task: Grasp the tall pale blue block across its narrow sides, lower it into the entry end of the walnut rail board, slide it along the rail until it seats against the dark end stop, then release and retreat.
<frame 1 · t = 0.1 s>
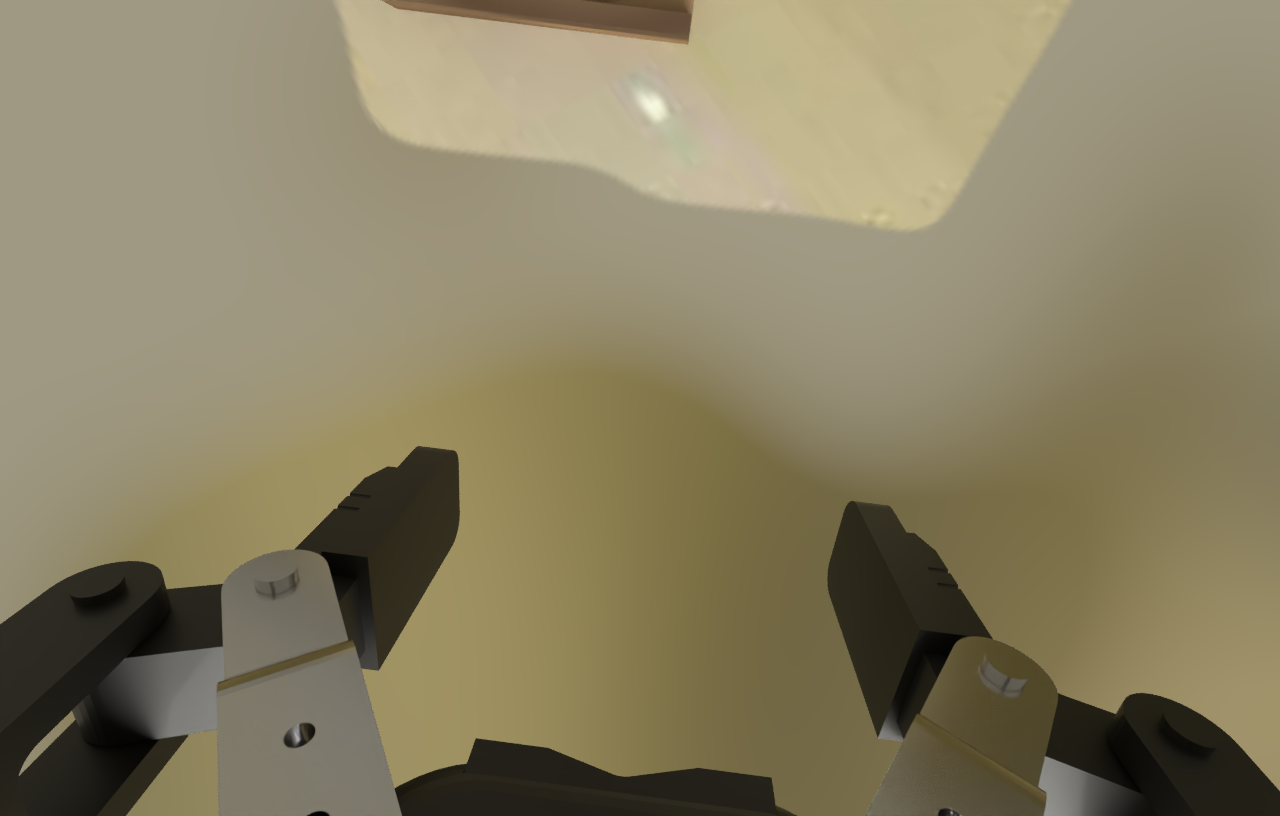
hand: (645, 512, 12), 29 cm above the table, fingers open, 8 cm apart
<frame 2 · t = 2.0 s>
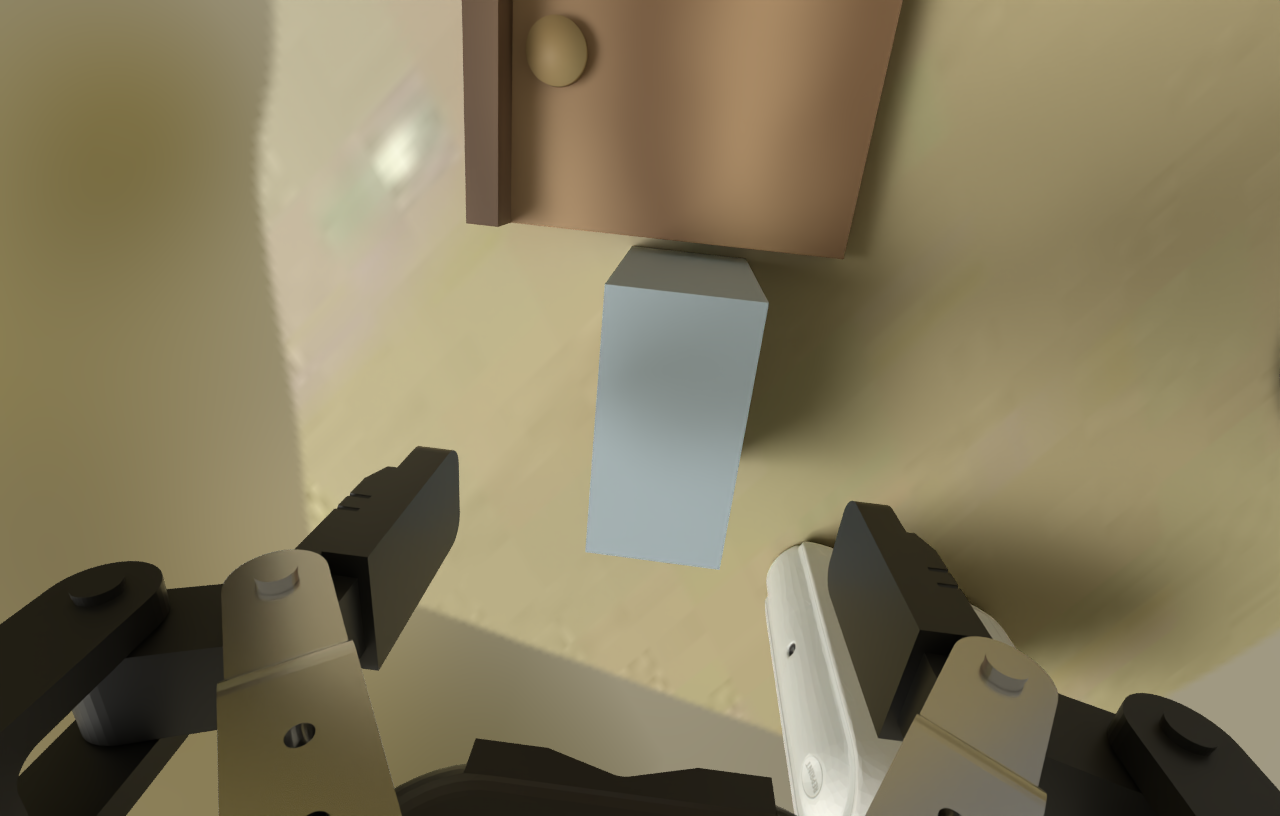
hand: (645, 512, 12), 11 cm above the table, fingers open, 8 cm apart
tall pale blue block: (675, 359, 22), on the table
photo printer: (873, 599, 26), on the table
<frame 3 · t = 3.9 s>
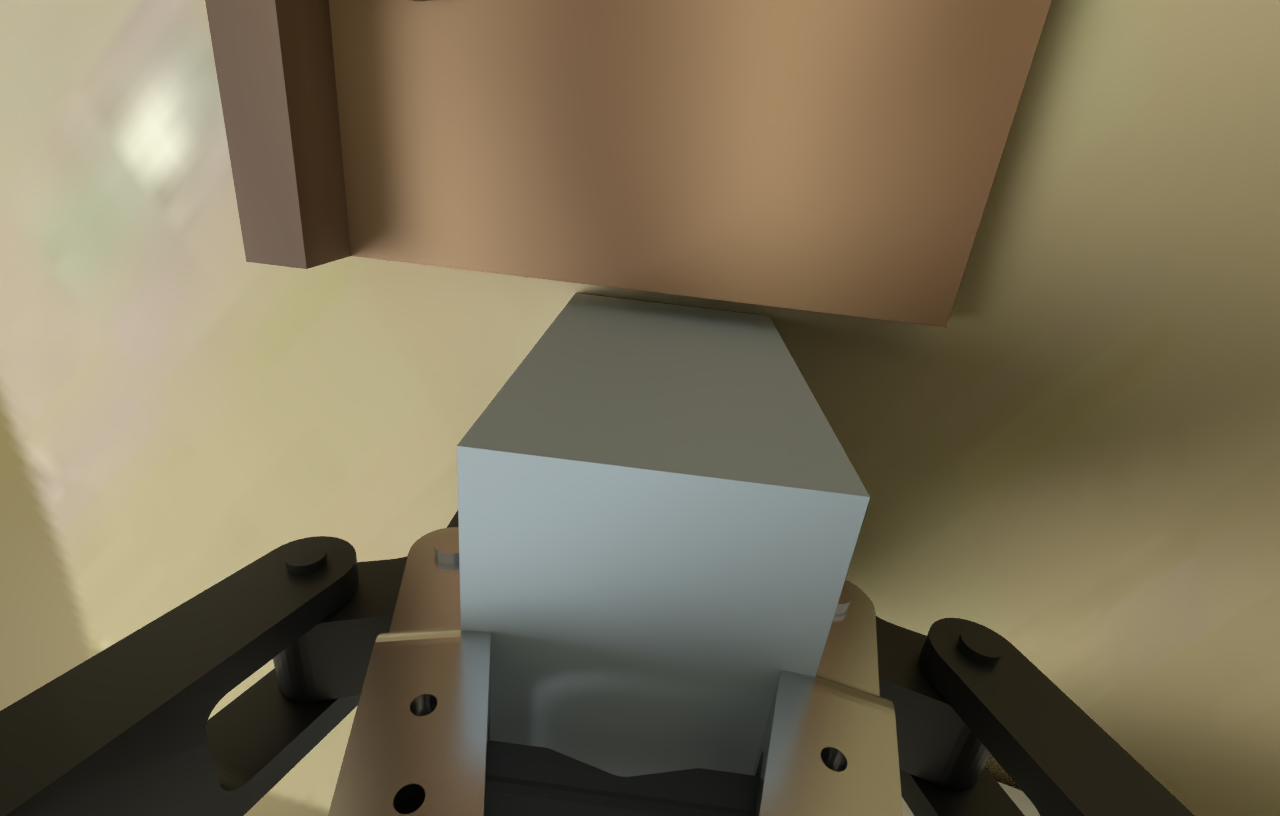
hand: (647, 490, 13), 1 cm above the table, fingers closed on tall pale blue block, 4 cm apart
tall pale blue block: (650, 473, 14), on the table, touching gripper
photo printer: (941, 800, 18), on the table
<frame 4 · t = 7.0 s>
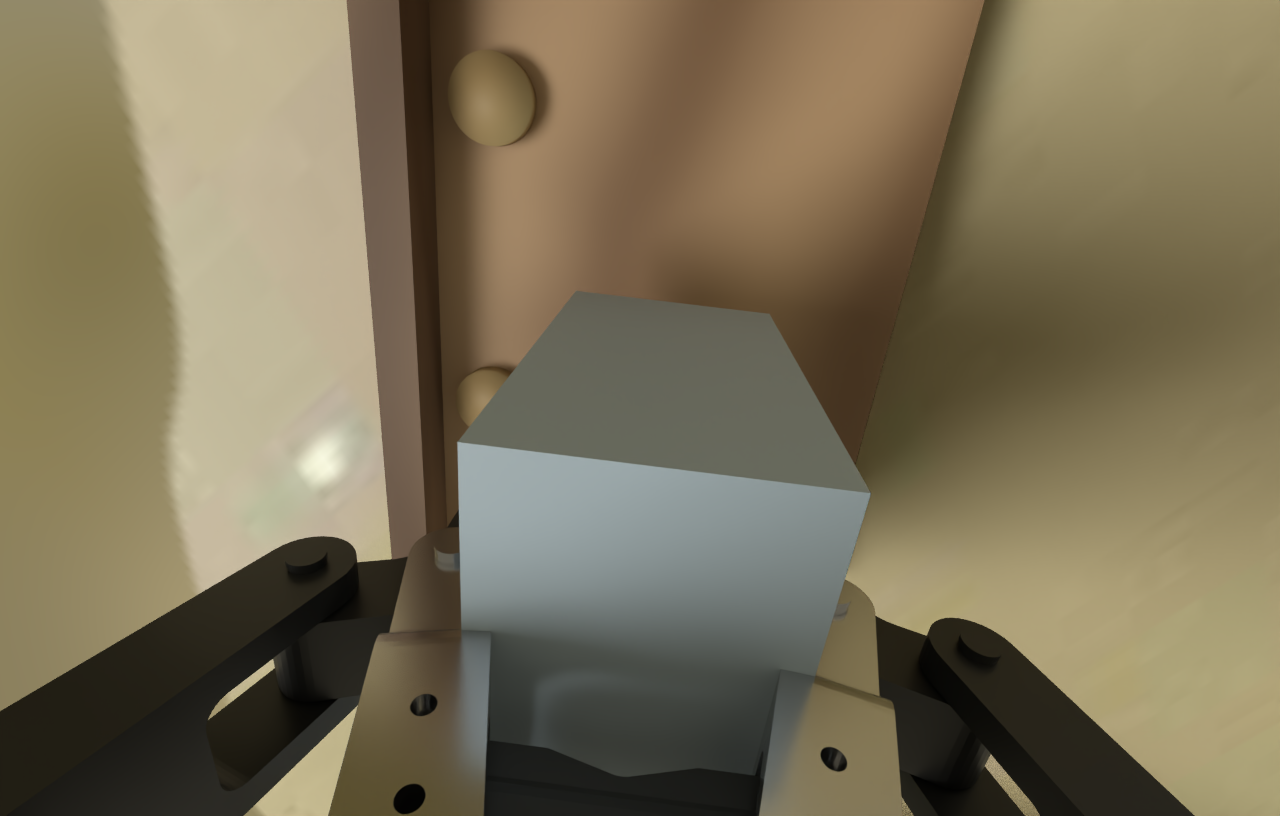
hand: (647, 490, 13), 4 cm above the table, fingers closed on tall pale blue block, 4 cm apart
tall pale blue block: (650, 471, 14), point 3 cm above the table, touching gripper
rail board: (647, 273, 15), on the table
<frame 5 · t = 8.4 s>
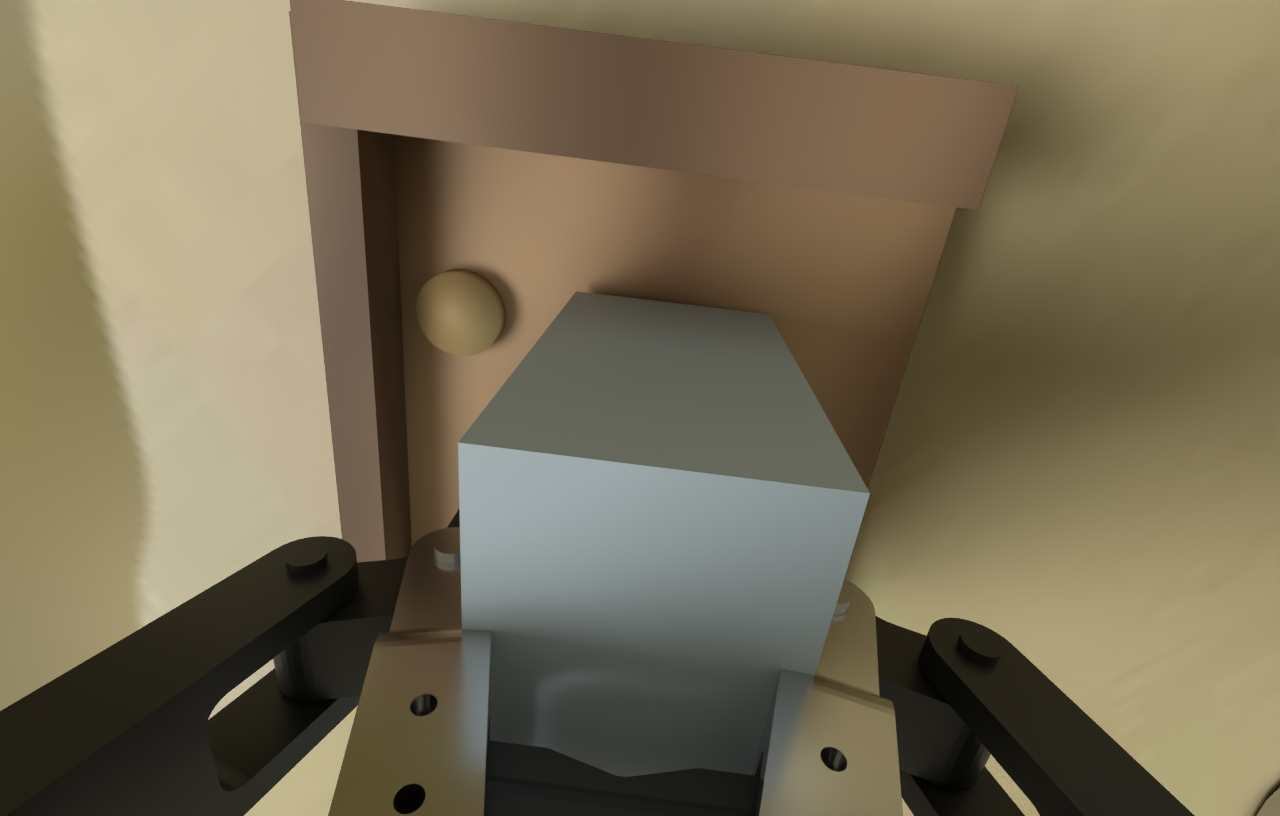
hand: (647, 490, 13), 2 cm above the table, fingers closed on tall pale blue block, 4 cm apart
tall pale blue block: (650, 471, 14), point 1 cm above the table, touching gripper
rail board: (617, 450, 15), on the table
when the fingers open (2 cm above the table, at t = 9.9 s): tall pale blue block stays where it is, resting on rail board.
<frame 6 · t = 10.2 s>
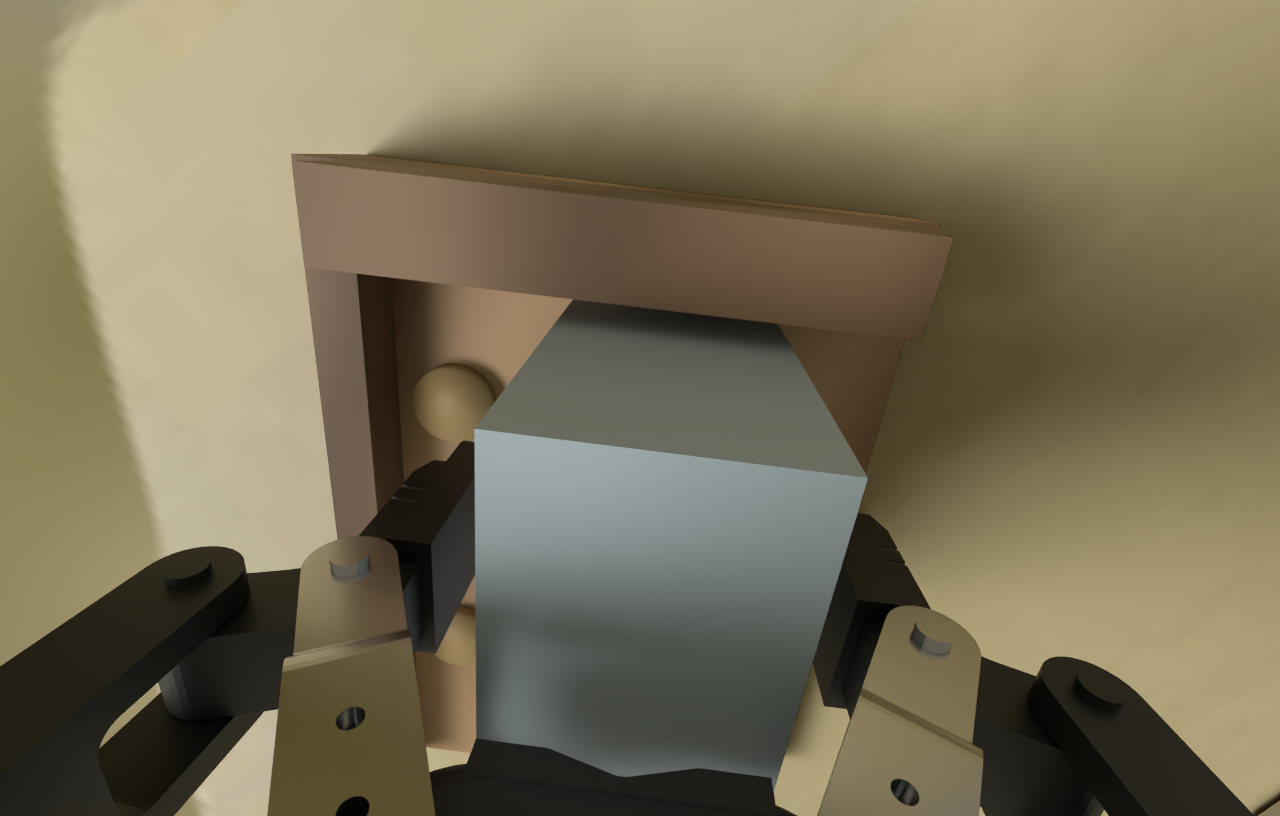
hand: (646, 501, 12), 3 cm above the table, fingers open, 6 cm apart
tall pale blue block: (653, 465, 14), point 1 cm above the table, touching rail board
rail board: (605, 517, 16), on the table
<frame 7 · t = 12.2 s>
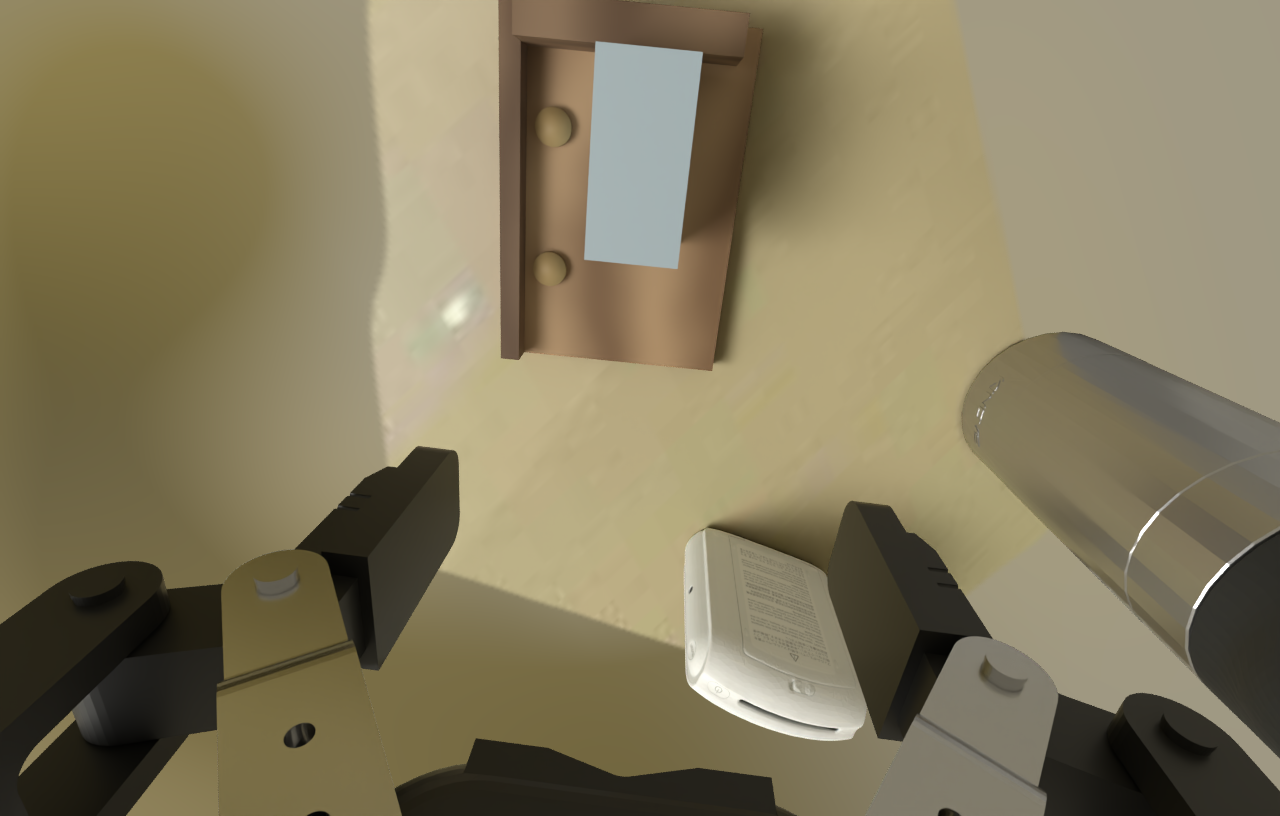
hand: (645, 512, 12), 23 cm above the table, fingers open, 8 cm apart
tall pale blue block: (645, 159, 30), point 1 cm above the table, touching rail board
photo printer: (752, 562, 41), on the table
rail board: (622, 205, 32), on the table
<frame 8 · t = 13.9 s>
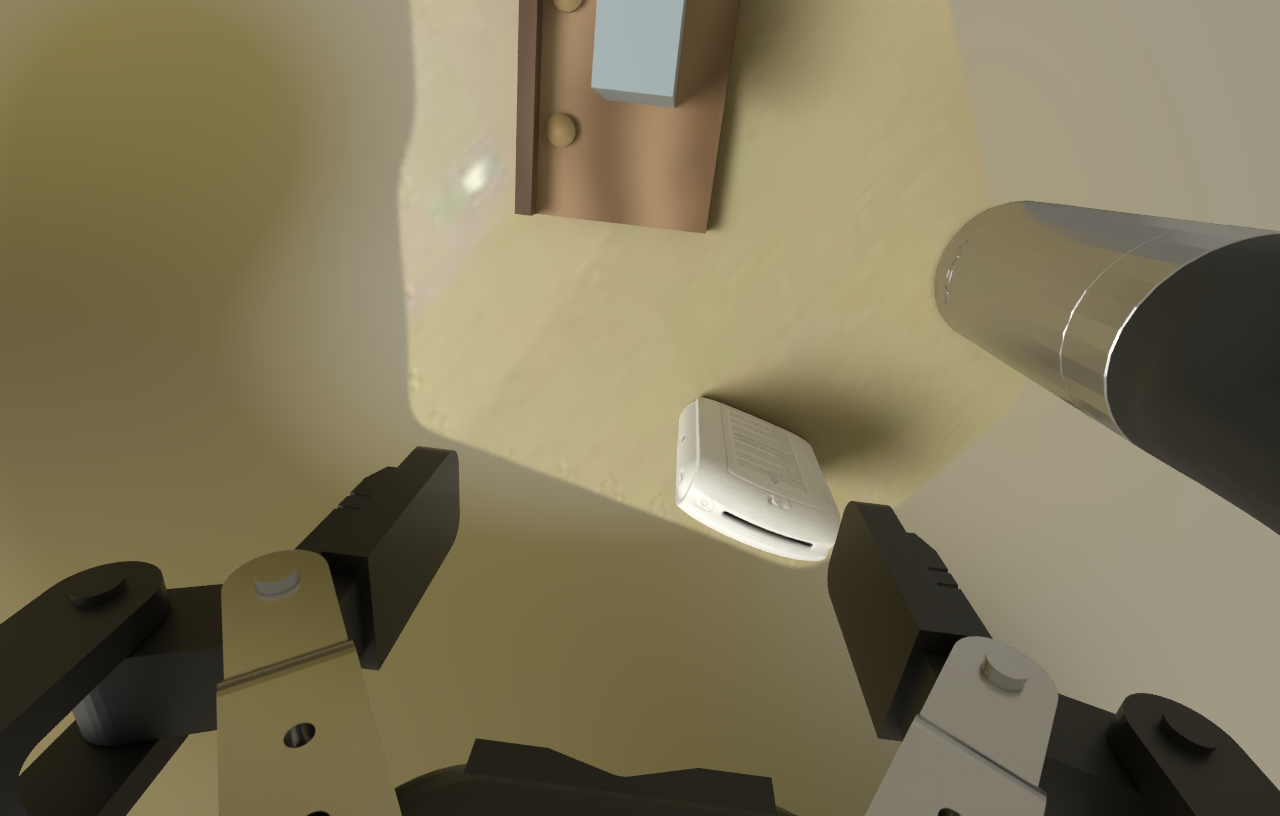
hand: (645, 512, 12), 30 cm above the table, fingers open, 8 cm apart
tall pale blue block: (648, 25, 33), point 1 cm above the table, touching rail board
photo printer: (741, 435, 45), on the table
rail board: (627, 74, 35), on the table
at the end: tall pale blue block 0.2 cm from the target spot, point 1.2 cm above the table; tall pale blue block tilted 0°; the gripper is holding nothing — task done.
